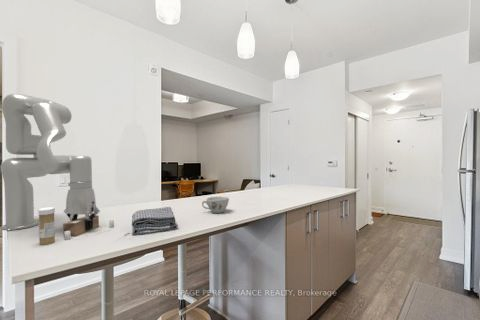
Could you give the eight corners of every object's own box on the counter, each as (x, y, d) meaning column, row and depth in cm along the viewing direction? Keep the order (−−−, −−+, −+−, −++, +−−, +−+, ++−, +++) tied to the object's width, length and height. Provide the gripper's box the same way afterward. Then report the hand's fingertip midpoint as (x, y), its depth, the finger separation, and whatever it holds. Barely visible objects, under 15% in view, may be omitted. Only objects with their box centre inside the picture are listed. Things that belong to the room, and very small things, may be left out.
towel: (131, 226, 108) (131, 209, 107) (173, 221, 115) (172, 205, 115) (131, 237, 94) (131, 217, 94) (178, 230, 101) (178, 212, 101)
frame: (63, 236, 91) (63, 223, 91) (88, 226, 104) (87, 215, 104) (75, 236, 91) (75, 223, 91) (98, 226, 104) (98, 215, 104)
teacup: (226, 209, 140) (226, 195, 140) (231, 214, 128) (230, 199, 128) (201, 210, 136) (201, 196, 136) (203, 215, 124) (202, 200, 124)
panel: (49, 237, 93) (49, 228, 93) (101, 224, 110) (101, 216, 110) (69, 245, 85) (69, 234, 85) (121, 229, 102) (121, 221, 102)
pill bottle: (37, 245, 85) (36, 208, 84) (53, 242, 88) (52, 206, 88) (40, 248, 82) (39, 210, 81) (57, 244, 85) (56, 207, 85)
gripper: (54, 186, 94) (55, 231, 95) (94, 187, 93) (95, 232, 93) (69, 184, 102) (70, 226, 102) (106, 184, 100) (107, 227, 100)
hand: (82, 228), depth 98 cm, fingers open, 5 cm apart
